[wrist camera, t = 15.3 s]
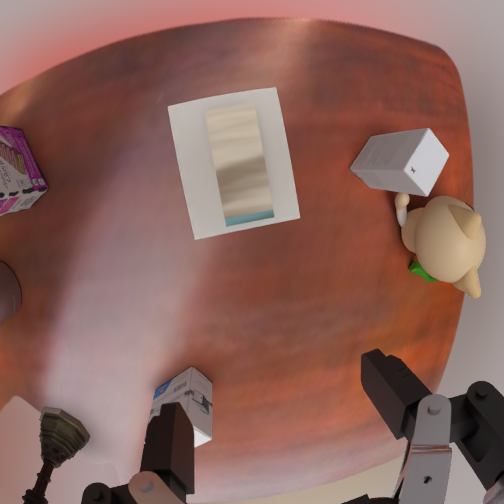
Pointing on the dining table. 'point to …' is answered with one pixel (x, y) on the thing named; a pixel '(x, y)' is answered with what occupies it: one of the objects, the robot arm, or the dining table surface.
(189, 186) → the mat
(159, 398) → the ink box
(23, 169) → the candy bar box
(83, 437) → the book lectern
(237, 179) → the birch block
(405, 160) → the skincare box
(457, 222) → the kitten
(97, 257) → the dining table surface
